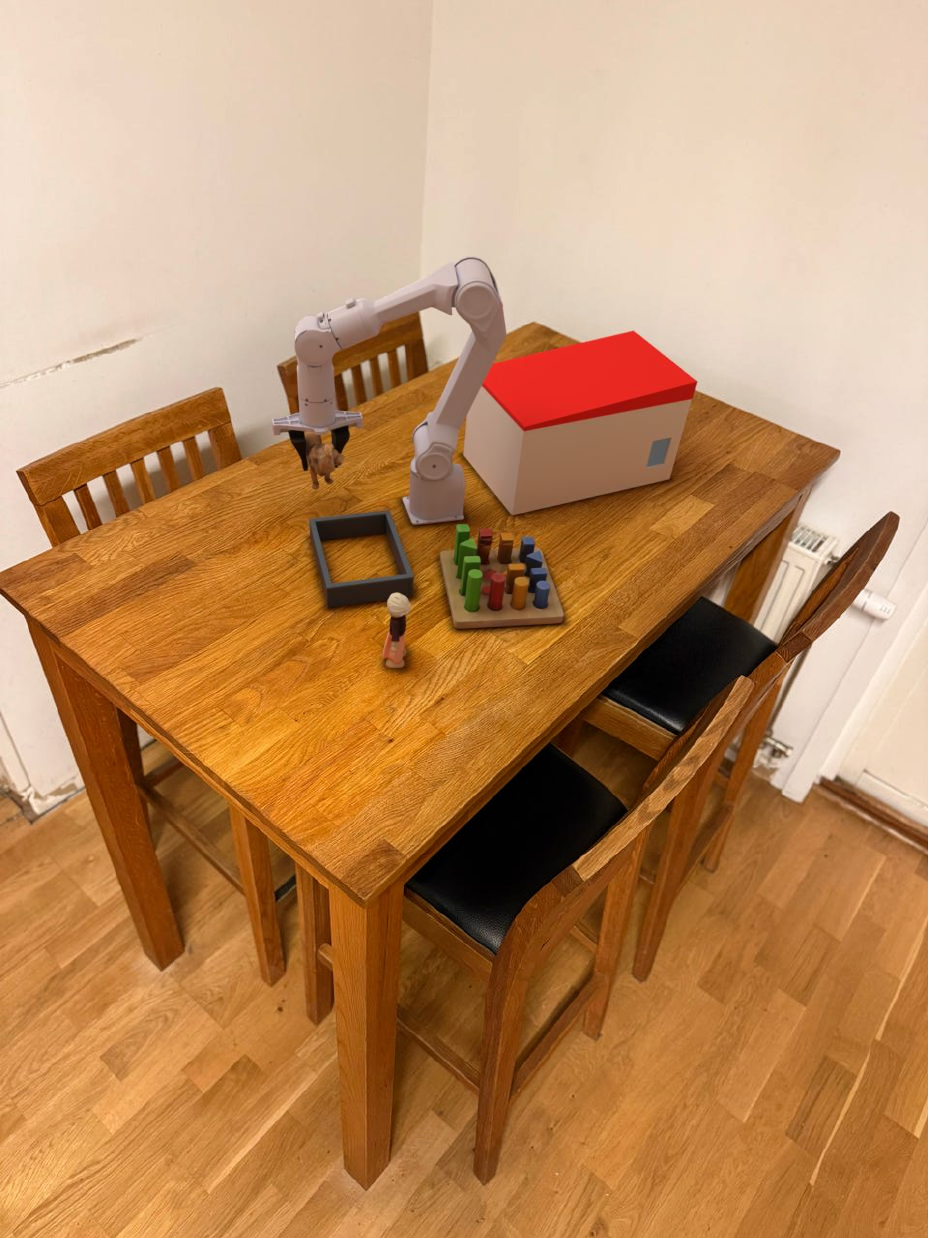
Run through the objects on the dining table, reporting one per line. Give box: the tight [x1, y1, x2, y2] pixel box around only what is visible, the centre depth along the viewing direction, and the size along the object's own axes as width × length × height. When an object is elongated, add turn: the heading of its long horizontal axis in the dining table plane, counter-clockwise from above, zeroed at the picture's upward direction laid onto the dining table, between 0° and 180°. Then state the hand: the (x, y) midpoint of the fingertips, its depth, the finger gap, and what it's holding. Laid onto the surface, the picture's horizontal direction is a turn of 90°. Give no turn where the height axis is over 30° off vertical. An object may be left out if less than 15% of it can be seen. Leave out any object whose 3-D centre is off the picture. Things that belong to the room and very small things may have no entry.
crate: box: [308, 509, 415, 609], centre depth 144 cm, size 14×18×4 cm
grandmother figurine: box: [382, 593, 412, 669], centre depth 127 cm, size 8×4×13 cm, turn 5°
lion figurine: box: [301, 431, 346, 490], centre depth 148 cm, size 15×5×9 cm, turn 29°
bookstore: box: [462, 330, 699, 516], centre depth 165 cm, size 21×35×21 cm, turn 116°
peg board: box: [439, 523, 565, 630], centre depth 141 cm, size 18×17×9 cm
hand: (319, 466), depth 150 cm, fingers closed on lion figurine, 4 cm apart
